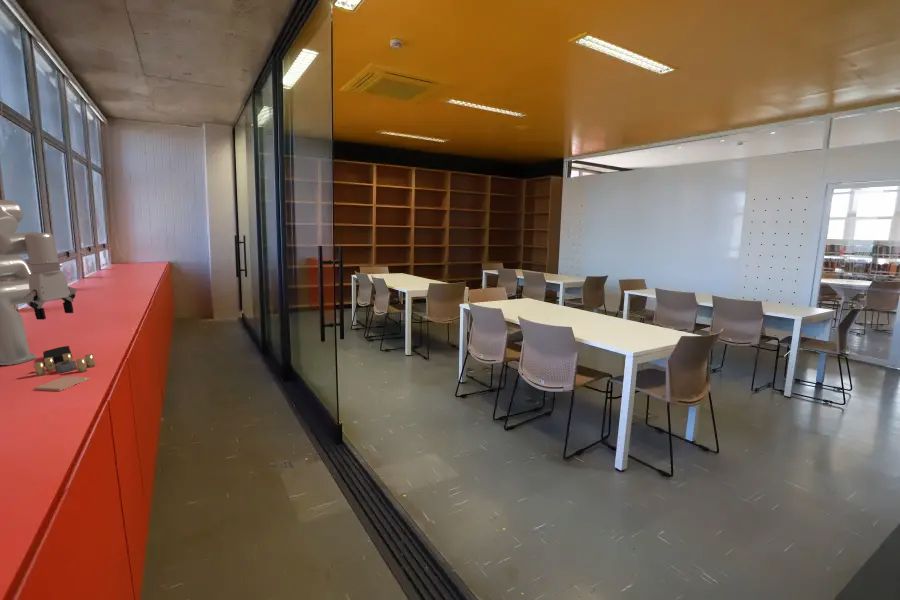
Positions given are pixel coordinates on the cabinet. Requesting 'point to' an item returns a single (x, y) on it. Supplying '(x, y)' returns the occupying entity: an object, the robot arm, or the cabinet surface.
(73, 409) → the cabinet surface
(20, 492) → the cabinet surface
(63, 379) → the tan tile
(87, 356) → the brass standoffs
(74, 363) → the steel nut
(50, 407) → the cabinet surface
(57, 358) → the black sponge
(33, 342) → the cabinet surface
